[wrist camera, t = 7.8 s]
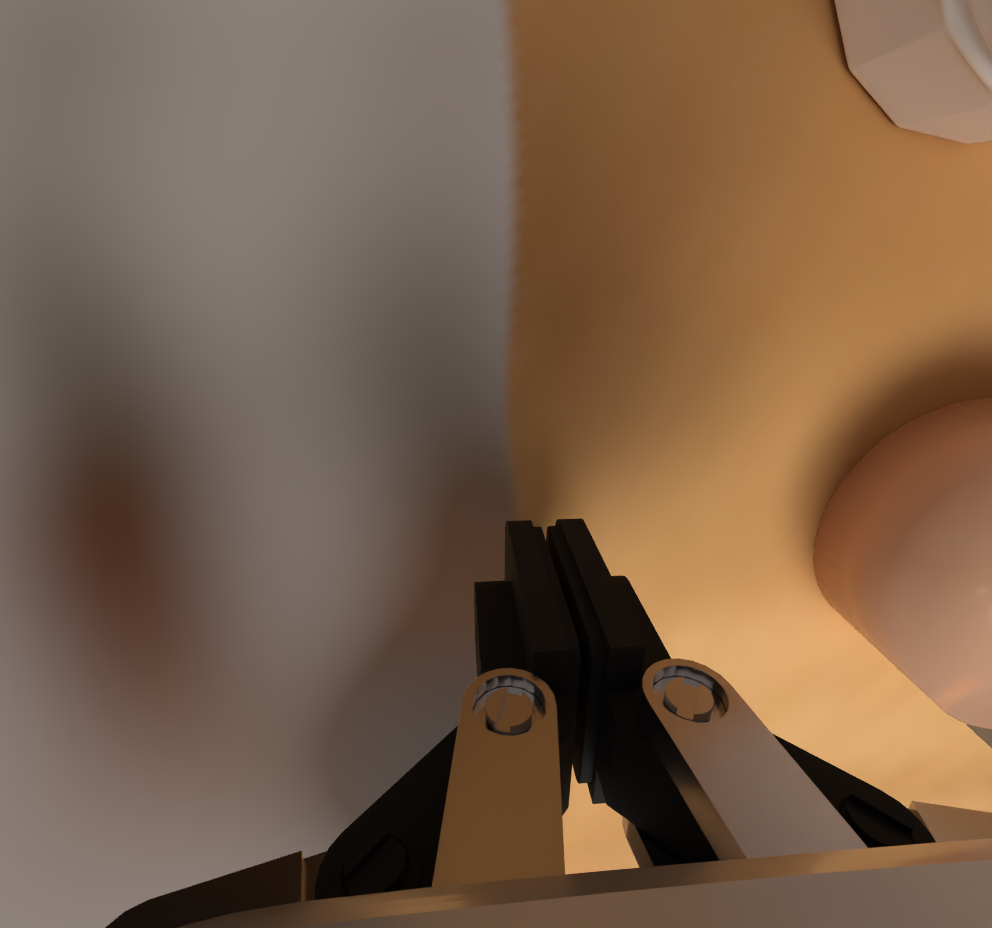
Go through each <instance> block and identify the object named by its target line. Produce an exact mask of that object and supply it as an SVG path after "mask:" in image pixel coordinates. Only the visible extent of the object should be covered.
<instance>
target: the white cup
mask: <svg viewBox="0 0 992 928" xmlns="http://www.w3.org/2000/svg"><path fill="white" fill-rule="evenodd" d="M834 2H835V6H836V11H837V16H838V21H839V26H840V30H841V35H842V40H843V45H844V50H845V55H846V59H847V64H848V68H849V70H850V72H851V73H852V74H853V75H854V76H855V78H856V79H857V80H858V81H859V82H860V83H861V85H862V86H863V87H864V88H865V89H866V91H867V92H868V93H869V94H870V95H871V96H872V98H873V99H874V100H875V101H876V102H877V104H878V105H879V106H880V107H881V108H882V109H883V111H884V112H885V113H886V114H887V115H888V116H889V118H890V119H891V120H892V121H893V122H894V124H895V125H896V126H898V127H900V128H903V129H907V130H911V131H915V132H919V133H923V134H927V135H931V136H935V137H939V138H943V139H947V140H951V141H955V142H959V143H963V144H975V143H981V142H987V141H992V0H834Z"/></svg>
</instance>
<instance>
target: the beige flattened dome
mask: <svg viewBox="0 0 992 928" xmlns="http://www.w3.org/2000/svg"><path fill="white" fill-rule="evenodd" d="M813 560H814V570H815V576H816V579H817V583H818V586H819V588H820V590H821V592H822V594H823V596H824V598H825V599H826V600H827V602H828V603H829V604H830V606H831V607H832V608H833V609H835V610H836V611H837V612H838V613H839V614H840V615H841V616H842V617H843V618H844V619H845V620H846V621H847V622H848V623H850V624H851V625H852V626H853V627H854V628H855V629H856V630H857V631H858V632H859V633H860V634H861V635H862V636H863V637H865V638H866V639H867V640H868V641H869V642H870V643H871V644H872V645H873V646H874V647H875V648H876V649H877V650H879V651H880V652H881V653H882V654H883V655H884V656H885V657H886V658H887V659H888V660H889V661H890V662H891V663H892V664H894V665H895V666H896V667H897V668H898V669H899V670H900V671H901V672H902V673H903V674H904V675H905V676H906V677H907V678H909V679H910V680H911V681H912V682H913V683H914V684H915V685H916V686H917V687H918V688H919V689H920V690H921V691H922V692H924V693H925V694H926V695H927V696H928V697H929V698H930V699H931V700H932V701H933V702H934V703H935V704H936V705H937V706H939V707H940V708H941V709H942V710H943V711H944V712H945V713H947V714H948V715H950V716H952V717H953V718H955V719H957V720H959V721H962V722H964V723H967V724H969V725H973V726H977V727H982V728H986V729H992V397H986V398H974V399H969V400H964V401H960V402H955V403H952V404H949V405H946V406H943V407H940V408H937V409H934V410H932V411H930V412H928V413H925V414H923V415H921V416H919V417H917V418H915V419H913V420H911V421H910V422H908V423H906V424H904V425H903V426H901V427H899V428H898V429H896V430H895V431H894V432H892V433H891V434H889V435H888V436H887V437H885V438H884V439H882V440H881V441H880V442H879V443H878V444H876V445H875V446H874V447H873V448H872V449H871V450H870V451H868V452H867V453H866V454H865V455H864V456H863V457H862V458H861V459H860V460H859V461H858V462H857V464H856V465H855V466H854V467H853V468H852V469H851V470H850V471H849V473H848V474H847V475H846V477H845V478H844V479H843V480H842V482H841V483H840V485H839V486H838V488H837V489H836V491H835V492H834V494H833V496H832V497H831V499H830V501H829V503H828V505H827V507H826V509H825V511H824V513H823V515H822V518H821V521H820V524H819V527H818V530H817V534H816V539H815V544H814V558H813Z"/></svg>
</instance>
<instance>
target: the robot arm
mask: <svg viewBox="0 0 992 928" xmlns="http://www.w3.org/2000/svg"><path fill="white" fill-rule="evenodd" d="M474 609H475V611H474V613H475V645H476V661H477V678H476V679H474V680H473V682H472V683H471V684H470V685H469V686H468V688H467V689H466V691H465V694H464V697H463V699H462V704H461V710H460V716H459V722H458V726H457V727H456V728H455V729H454V730H453V731H451V732H450V733H449V734H448V735H447V736H446V737H445V738H444V739H443V740H442V741H441V742H440V743H438V744H437V745H436V746H435V747H434V748H433V749H432V750H431V751H430V752H429V753H428V754H427V755H426V756H424V757H423V758H422V759H421V760H420V761H419V762H418V763H417V764H416V765H415V766H414V767H413V768H411V769H410V770H409V771H408V772H407V773H406V774H405V775H404V776H403V777H402V778H401V779H399V781H397V783H395V784H394V785H393V786H392V787H391V788H390V789H389V790H388V791H387V792H385V793H384V794H383V795H382V796H381V797H380V798H379V799H378V800H377V801H376V802H375V803H374V804H373V805H371V806H370V807H369V808H368V809H367V810H366V811H365V812H364V813H363V814H362V815H361V816H360V817H358V818H357V819H356V820H355V821H354V822H353V823H352V824H351V825H350V826H349V827H348V828H347V829H345V830H344V831H343V832H342V833H341V834H340V836H339V837H338V838H337V839H336V840H335V842H334V843H333V844H332V845H331V846H330V847H329V849H328V851H326V852H323V853H320V854H317V855H313V856H310V857H307V858H303V853H302V851H299V852H296V853H293V854H290V855H287V856H283V857H280V858H277V859H274V860H271V861H268V862H265V863H262V864H259V865H255V866H252V867H250V868H246V869H243V870H240V871H237V872H234V873H231V874H227V875H224V876H221V877H218V878H215V879H212V880H209V881H205V882H202V883H199V884H196V885H193V886H190V887H187V888H184V889H181V890H177V891H175V892H171V893H168V894H165V895H162V896H159V897H156V898H152V899H150V900H147V901H145V902H143V903H141V904H139V905H137V906H135V907H133V908H131V909H129V910H127V911H125V912H124V913H122V914H121V915H120V916H119V917H117V918H116V919H115V920H114V921H113V922H111V923H110V924H109V925H108V926H106V928H992V813H989V812H982V811H976V810H969V809H962V808H955V807H949V806H942V805H935V804H929V803H922V802H915V801H912V802H911V804H910V806H909V808H908V809H907V808H906V807H905V806H904V805H902V804H901V803H900V802H899V801H897V800H895V799H894V798H892V797H891V796H889V795H887V794H886V793H884V792H883V791H881V790H879V789H877V788H876V787H874V786H872V785H870V784H868V783H866V782H864V781H862V780H860V779H858V778H856V777H854V776H853V775H851V774H849V773H847V772H845V771H843V770H841V769H839V768H837V767H835V766H833V765H831V764H830V763H828V762H826V761H824V760H822V759H820V758H818V757H816V756H814V755H812V754H810V753H808V752H807V751H805V750H803V749H801V748H799V747H797V746H795V745H793V744H791V743H789V742H787V741H785V740H783V739H782V738H780V737H778V736H776V735H774V734H772V733H771V732H770V731H769V730H768V728H767V727H766V726H765V725H764V724H763V723H762V721H761V720H760V719H759V718H758V717H757V715H756V714H755V713H754V712H753V711H752V709H751V708H750V707H749V706H748V705H747V704H746V702H745V701H744V700H743V699H742V698H741V696H740V695H739V694H738V693H737V692H736V691H735V689H734V688H733V687H732V686H731V685H730V684H729V683H728V682H727V681H726V680H725V679H724V678H723V677H722V676H721V675H720V674H718V673H717V672H715V671H714V670H712V669H710V668H709V667H707V666H705V665H702V664H699V663H697V662H694V661H690V660H684V659H671V658H670V656H669V654H668V652H667V650H666V648H665V647H664V645H663V643H662V641H661V639H660V637H659V636H658V634H657V632H656V630H655V628H654V626H653V624H652V623H651V621H650V619H649V617H648V615H647V613H646V612H645V610H644V608H643V606H642V604H641V602H640V600H639V599H638V597H637V595H636V593H635V591H634V589H633V588H632V586H631V584H630V582H629V580H628V579H627V578H626V577H625V576H611V575H610V573H609V571H608V569H607V567H606V565H605V562H604V560H603V558H602V556H601V554H600V552H599V550H598V548H597V546H596V544H595V542H594V540H593V538H592V536H591V534H590V532H589V530H588V528H587V526H586V524H585V522H584V520H583V519H557V521H556V524H555V526H548V527H547V537H546V540H545V537H544V533H543V530H542V528H541V527H533V524H532V521H531V520H527V521H506V526H505V581H490V582H489V581H488V582H474ZM572 764H573V768H574V772H575V776H576V780H577V782H578V783H587V784H588V788H589V792H590V795H591V799H592V803H593V804H598V803H606V804H607V805H608V806H609V807H611V808H612V809H613V810H615V811H616V812H618V813H619V814H620V815H622V816H623V820H622V824H623V828H624V831H625V835H626V838H627V840H628V842H629V845H630V847H631V849H632V851H633V854H634V856H635V858H636V860H637V863H638V865H639V867H640V868H632V869H621V870H610V871H598V872H588V873H577V874H567V875H565V863H564V843H563V823H562V815H563V814H564V813H565V811H566V810H567V808H568V805H569V794H570V782H571V771H572Z"/></svg>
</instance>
